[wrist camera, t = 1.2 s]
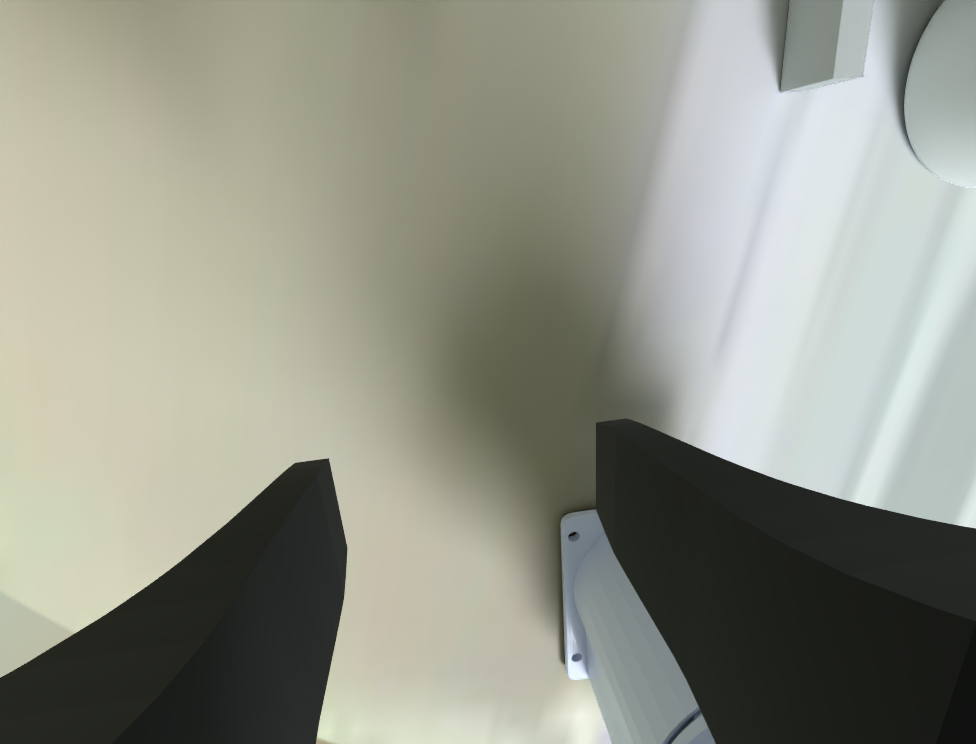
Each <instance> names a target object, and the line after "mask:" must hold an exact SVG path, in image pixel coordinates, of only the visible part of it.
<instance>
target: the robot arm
mask: <svg viewBox="0 0 976 744" xmlns="http://www.w3.org/2000/svg"><path fill="white" fill-rule="evenodd" d="M560 527H561V556H562V586H563V615H564V644H565V669H566V672H567V676H568V677H569V678H570V679H573V680H579V679H584V678H589V680H590V683H591V686H592V688H593V691H594V694H595V697H596V700H597V702H598V705H599V708H600V711H601V714H602V716H603V719H604V722H605V725H606V728H607V730H608V733H609V736H610V739H611V742H612V744H976V529H975V528H969V527H963V526H958V525H953V524H947V523H942V522H937V521H932V520H927V519H922V518H917V517H913V516H909V515H904V514H900V513H896V512H891V511H887V510H883V509H878V508H874V507H870V506H865V505H862V504H858V503H854V502H850V501H846V500H842V499H839V498H835V497H832V496H829V495H825V494H822V493H819V492H815V491H812V490H809V489H805V488H802V487H799V486H795V485H792V484H789V483H786V482H783V481H780V480H777V479H774V478H772V477H769V476H766V475H764V474H761V473H758V472H756V471H753V470H750V469H748V468H745V467H742V466H740V465H737V464H734V463H732V462H729V461H727V460H725V459H722V458H720V457H717V456H715V455H712V454H710V453H708V452H705V451H703V450H701V449H698V448H696V447H694V446H692V445H689V444H687V443H685V442H682V441H680V440H678V439H676V438H673V437H671V436H669V435H667V434H664V433H662V432H660V431H658V430H655V429H653V428H650V427H648V426H646V425H643V424H641V423H638V422H635V421H632V420H629V419H620V420H612V421H605V422H597V423H596V509H594V510H587V511H580V512H573V513H569V514H567V515H565V516H564V517H563V518H562V520H561V524H560ZM572 532H577V533H576V534H575V535H574V536H569V534H570V533H572ZM346 563H347V544H346V540H345V535H344V530H343V525H342V520H341V515H340V511H339V506H338V501H337V496H336V491H335V486H334V482H333V477H332V472H331V467H330V462H329V459H321V460H314V461H306V462H299V463H295V464H293V465H292V466H291V467H289V468H288V469H287V470H286V471H285V472H283V473H282V474H281V475H280V476H279V477H278V478H277V479H276V480H274V481H273V482H272V483H271V484H270V485H269V486H268V487H267V488H266V489H265V490H264V491H262V492H261V493H260V494H259V495H258V496H257V497H256V498H255V499H254V500H253V501H251V502H250V503H249V504H248V505H247V506H246V507H245V508H244V509H242V510H241V511H240V512H239V513H238V514H237V515H236V516H235V517H234V518H232V519H231V520H230V521H229V522H228V523H227V524H226V525H224V526H223V527H222V528H221V529H220V530H218V531H217V532H216V533H215V534H213V535H212V536H211V537H210V538H209V539H207V540H206V541H205V542H204V543H203V544H201V545H200V546H199V547H198V548H196V549H195V550H194V551H193V552H192V553H190V554H189V555H188V556H187V557H185V558H184V559H183V560H182V561H181V562H179V563H178V564H177V565H175V566H174V567H173V568H171V569H170V570H169V571H168V572H166V573H165V574H163V575H162V576H161V577H159V578H158V579H157V580H155V581H154V582H153V583H151V584H150V585H148V586H147V587H145V588H144V589H143V590H141V591H140V592H138V593H137V594H135V595H134V596H132V597H131V598H130V599H128V600H127V601H125V602H124V603H122V604H121V605H119V606H118V607H117V608H115V609H113V610H112V611H110V612H109V613H107V614H106V615H104V616H103V617H101V618H100V619H98V620H96V621H95V622H93V623H91V624H90V625H88V626H87V627H85V628H83V629H82V630H80V631H78V632H77V633H75V634H73V635H72V636H70V637H69V638H67V639H65V640H64V641H62V642H60V643H59V644H57V645H56V646H54V647H52V648H50V649H49V650H47V651H46V652H44V653H42V654H41V655H39V656H37V657H36V658H34V659H32V660H31V661H30V662H28V663H26V664H24V665H22V666H21V667H19V668H17V669H15V670H14V671H12V672H10V673H8V674H6V675H5V676H3V677H1V678H0V744H316V738H317V732H318V726H319V720H320V715H321V710H322V705H323V700H324V695H325V690H326V685H327V680H328V676H329V671H330V666H331V661H332V656H333V651H334V646H335V641H336V636H337V631H338V626H339V621H340V616H341V611H342V606H343V600H344V591H345V578H346ZM576 653H578V654H576ZM574 654H576V655H574Z"/></svg>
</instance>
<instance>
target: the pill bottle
mask: <svg viewBox="0 0 976 744" xmlns="http://www.w3.org/2000/svg"><path fill="white" fill-rule="evenodd" d="M904 113H905V123H906V129H907V134H908V137H909V140H910V143H911V146H912V148H913V150H914V152H915V154H916V156H917V157H918V159H919V160H920V161H921V163H922V164H923V165H924V166H925V167H926V168H927V169H928V170H929V171H930V172H931V173H933V174H934V175H935V176H937V177H938V178H940V179H942V180H944V181H946V182H948V183H951V184H954V185H957V186H961V187H967V188H976V0H944V1H943V3H942V4H941V5H940V7H939V8H938V9H937V11H936V12H935V14H934V15H933V17H932V18H931V20H930V22H929V23H928V25H927V27H926V29H925V31H924V33H923V35H922V37H921V39H920V41H919V43H918V45H917V48H916V50H915V53H914V56H913V59H912V62H911V65H910V69H909V73H908V77H907V82H906V89H905V100H904Z"/></svg>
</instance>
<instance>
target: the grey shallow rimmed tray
mask: <svg viewBox="0 0 976 744" xmlns="http://www.w3.org/2000/svg"><path fill="white" fill-rule="evenodd" d="M873 5H874V0H790V1H789V10H788V20H787V30H786V40H785V50H784V60H783V70H782V79H781V89H780V92H794V91H807V90H811V89H815V88H819V87H823V86H827V85H831V84H836V83H840V82H844V81H848V80H852V79H856V78H860V77H863V72H864V66H865V59H866V52H867V45H868V39H869V32H870V25H871V18H872V12H873Z"/></svg>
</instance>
